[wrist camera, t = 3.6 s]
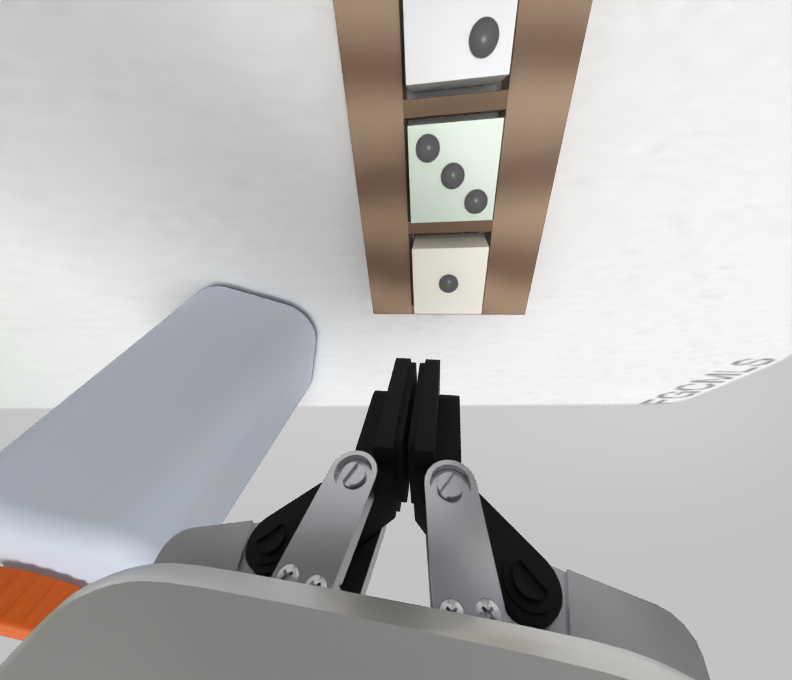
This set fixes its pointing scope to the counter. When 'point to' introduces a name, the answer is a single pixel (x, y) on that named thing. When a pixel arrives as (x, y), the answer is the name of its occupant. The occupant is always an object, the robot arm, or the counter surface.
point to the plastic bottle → (147, 448)
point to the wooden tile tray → (517, 103)
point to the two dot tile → (457, 42)
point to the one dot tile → (449, 273)
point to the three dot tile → (454, 170)
